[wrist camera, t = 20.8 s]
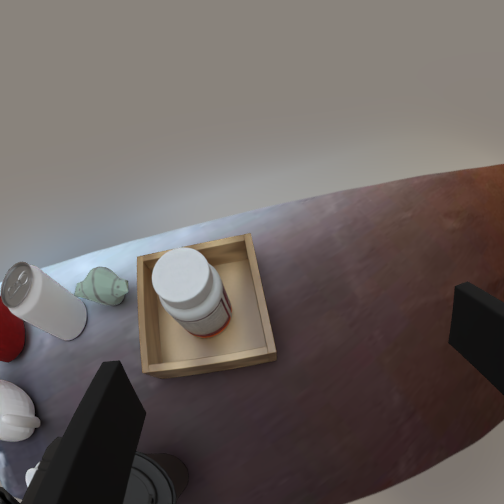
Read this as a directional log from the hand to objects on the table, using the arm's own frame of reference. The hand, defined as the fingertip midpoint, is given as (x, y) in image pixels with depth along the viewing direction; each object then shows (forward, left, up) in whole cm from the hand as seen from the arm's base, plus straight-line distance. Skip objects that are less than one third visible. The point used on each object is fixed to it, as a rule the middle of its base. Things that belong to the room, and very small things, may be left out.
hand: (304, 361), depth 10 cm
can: (+27, -13, -24) cm, 38 cm away
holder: (+7, -11, -24) cm, 27 cm away
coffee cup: (+15, +8, -24) cm, 29 cm away
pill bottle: (+7, -11, -23) cm, 26 cm away
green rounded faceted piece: (+19, -15, -24) cm, 34 cm away
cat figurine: (+37, +1, -24) cm, 44 cm away
